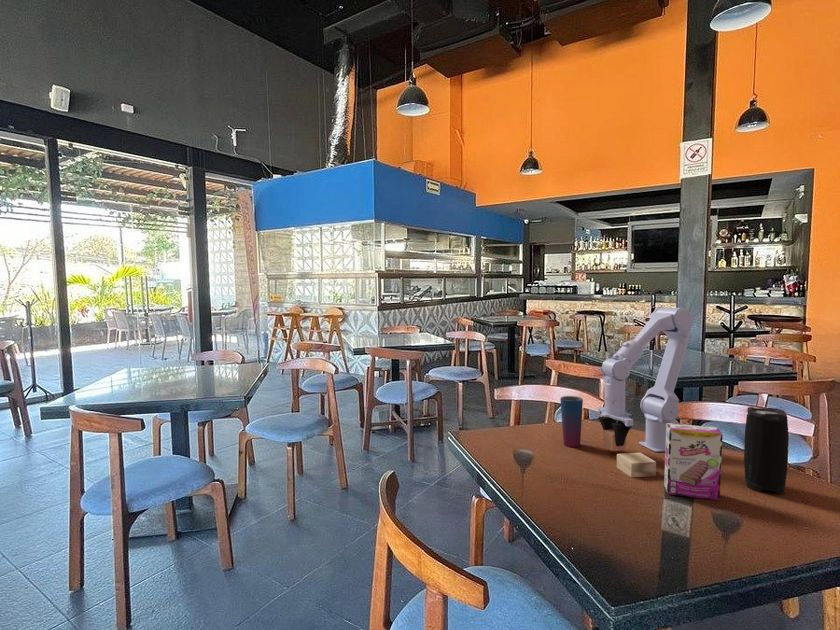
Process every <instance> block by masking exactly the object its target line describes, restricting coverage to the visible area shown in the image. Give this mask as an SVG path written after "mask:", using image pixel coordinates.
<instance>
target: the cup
mask: <svg viewBox="0 0 840 630" xmlns="http://www.w3.org/2000/svg"><path fill="white" fill-rule="evenodd" d="M559 400H560V411H561V425H562V437H563V438H562V439H563V440H562V441H563V446H565V447H568V448H579V447H580V446H581V439H582V438H581V437H582V421H583V419H582V418H583V403H584V398H582V397H580V396H576V395H575V396H574V395H562V396H561V397H560V399H559Z"/></svg>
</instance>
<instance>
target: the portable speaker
mask: <svg viewBox="0 0 840 630" xmlns="http://www.w3.org/2000/svg"><path fill="white" fill-rule="evenodd" d="M789 438H790V437H789V421H788V414H787V413H786V412H785V410H783V409H780V408H774V407H761V408H760V407H754V406H749V407H747V414H746V420H745V427H744V444H743V445H744V446H743V447H744V451H743V453H744V454H743V462H744V463H743V466H744V468H743V469H744V480H745V484H746V487H747V488H749V489H750V490H752V491H756V492H761V491H771V492H774V493H775V494H777V495H782V494H785V492H786V491H785V490H786V482H787V476H788V475H787V474H788V466H789V465H788V464H789Z"/></svg>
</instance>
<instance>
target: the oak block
mask: <svg viewBox="0 0 840 630" xmlns="http://www.w3.org/2000/svg"><path fill="white" fill-rule="evenodd" d="M616 468H617V469H619V470H620V471H621V472H622V473H624V474H625V475H627V476H629V477H630V478H640V477H641V478H642V477H644V478H645V477H655V476H657V461H655V460H653V459H652V458H650V457H649V456H647V455H645V454H644V453H642V452H625V453H617V454H616Z"/></svg>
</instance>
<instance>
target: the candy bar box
mask: <svg viewBox="0 0 840 630" xmlns="http://www.w3.org/2000/svg"><path fill="white" fill-rule="evenodd" d="M723 435H724V434H723V432H722V431H721V430H719V428H718V427H715V426H704V425H703V426H702V425H694V424H693V425H692V424H682V423H679V424H671V423H666V447H665V451H664V453H665V454H664V455H665V456H664V478H663V479H664V480H663V481H664V483H663V486H664V489H665V491H666V493H667V495H673V496H679V497H681V496H682V497H687V498H696V499H704V500H710V501H711V500H712V501H720V500H721V484H722V483H721V481H722V480H721V479H722V476H721V475H722V459H723V458H722V455H723V453H722V452H723Z"/></svg>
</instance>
